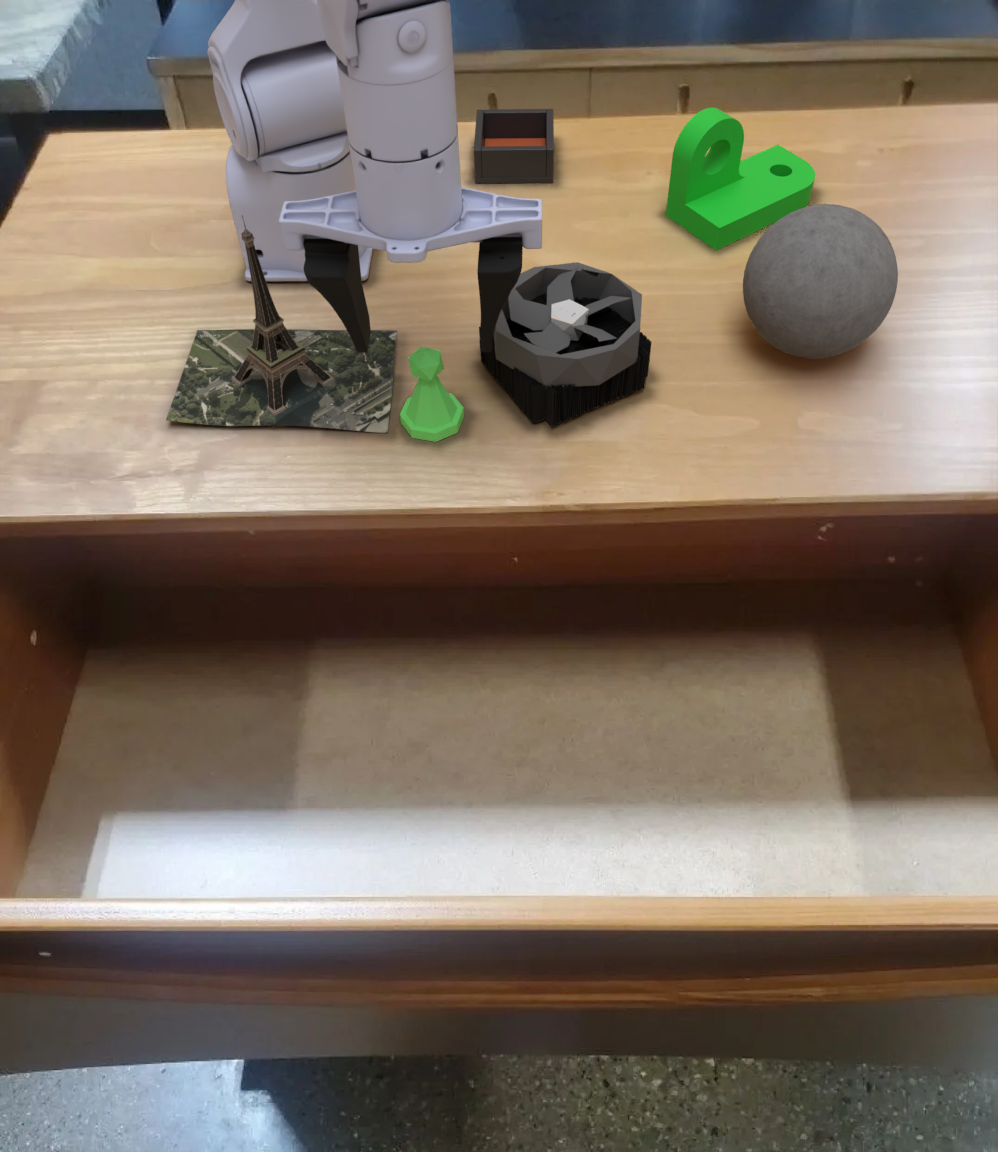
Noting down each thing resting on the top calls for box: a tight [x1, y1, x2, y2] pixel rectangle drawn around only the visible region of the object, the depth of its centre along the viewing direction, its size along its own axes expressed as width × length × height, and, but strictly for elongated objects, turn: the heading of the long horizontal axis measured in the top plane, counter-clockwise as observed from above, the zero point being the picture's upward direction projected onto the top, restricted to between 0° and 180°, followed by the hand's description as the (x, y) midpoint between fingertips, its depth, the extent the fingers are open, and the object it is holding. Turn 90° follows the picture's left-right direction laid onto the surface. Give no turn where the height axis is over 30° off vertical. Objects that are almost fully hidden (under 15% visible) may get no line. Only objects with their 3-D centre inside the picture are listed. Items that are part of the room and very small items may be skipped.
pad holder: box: [473, 108, 555, 184], centre depth 87 cm, size 7×7×3 cm
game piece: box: [399, 346, 465, 443], centre depth 67 cm, size 4×4×6 cm
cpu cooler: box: [478, 262, 652, 428], centre depth 69 cm, size 10×6×10 cm
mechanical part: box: [665, 107, 816, 251], centre depth 80 cm, size 12×6×8 cm, turn 125°
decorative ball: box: [742, 203, 899, 359], centre depth 69 cm, size 10×10×10 cm
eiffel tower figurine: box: [165, 215, 398, 434], centre depth 66 cm, size 15×10×13 cm
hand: (424, 342), depth 64 cm, fingers open, 7 cm apart
